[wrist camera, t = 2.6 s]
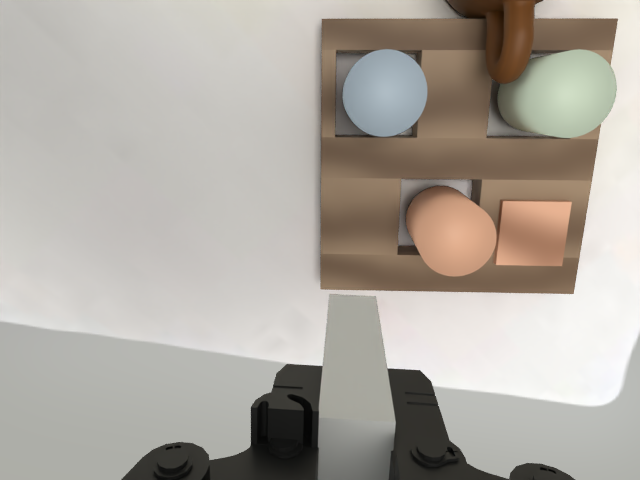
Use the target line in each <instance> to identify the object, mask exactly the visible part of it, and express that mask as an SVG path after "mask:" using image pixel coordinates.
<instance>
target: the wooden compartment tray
mask: <svg viewBox="0 0 640 480" xmlns="http://www.w3.org/2000/svg"><path fill="white" fill-rule="evenodd" d="M617 21H618V19H534V41H533V46H532V51H531V53H560V52H565V51H570V50H578V49H581V50H588V51H592V52H594V53H597V54H598V55H600V56H601V57H603V58H604V59H605V60H606V61H607V62H608V63H609V65H611V58H612V52H613V46H614V40H615V34H616V28H617ZM486 38H487V19H322V96H321V289H329V290H385V291H441V292H497V293H553V294H574V288H575V281H576V275H577V269H578V263H579V257H580V250H581V244H582V238H583V232H584V226H585V219H586V213H587V207H588V201H589V195H590V188H591V182H592V176H593V170H594V164H595V158H596V151H597V145H598V139H599V133H600V127H601V124H600V125H599V126H597V127H596V128H595V129H594V130H592V131H590V132H589V133H586V134H584V135H581V136H578V137H573V138H560V137H554V136H487V126H488V116H489V106H490V96H491V86H492V78H491V76H490V75H489V72H488V70H487V66H486V56H485V55H486ZM383 49H391V50H397V51H400V52H403V53H417V57H416V62H417V64H418V65H419V66H420V68H421V69H422V71H423V73H424V76H425V79H426V82H427V100H426V104H425V107H424V110H423V112H422V114H421V116H420V117H419V118H418V120H417V121H416V122H415V123H414V124H413V128H412V135H394V136H388V137H380V136H374V135H335V106H336V53H371V52H374V51H377V50H383ZM401 179H473V183H472V194H471V201H472V202H474V203H475V204H476V205H478V206H479V207H480V208H482V209H483V210H484V211H485V212H486V213H487V214H488V215H489V216H490V217H491V219H492V221H493V223H494V225H495V229H496V235H497V238H496V246H495V249H494V251H493V253H492V255H491V257H490V258H489V260H488V261H487V262H486V263H485V264H484V265H483V266H482V267H481V268H479V269H478V270H476V271H475V272H473V273H470V274H467V275H464V276H455V277H453V276H446V275H442V274H439V273H437V272H435V271H434V270H432V269H431V268H430V267H429V266H428V265H427V264H426V263H425V262H424V260H423V259H422V257H421V255H420V253H419V251H418V249H417V247H416V246H398V232H399V212H400V193H401Z"/></svg>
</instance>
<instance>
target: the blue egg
mask: <svg viewBox="0 0 640 480" xmlns="http://www.w3.org/2000/svg"><path fill="white" fill-rule="evenodd" d="M342 97H343V104H344V108H345V110H346V112H347V114H348V116H349V117H350V119H351V120H352V122H353V123H354V124H355V125H356V126H357V127H358V128H359V129H361V130H362V131H364V132H366V133H368V134H371V135H374V136H380V137H388V136H394V135H397V134H400V133H402V132H404V131H406V130H407V129H409V128H410V127H411V126H412V125H413V124H414V123H415V122H416V121H417V120H418V118H419V117H420V116H421V114H422V112H423V110H424V107H425V104H426V100H427V82H426V79H425V76H424V73H423V71H422V69H421V68H420V66H419V65H418V64H417V62H416V61H415V60H414V59H412V58H411V57H410V56H408V55H407V54H405V53H403V52H400V51H397V50H391V49H383V50H377V51H374V52H371V53H369V54H367V55H365V56H364V57H362V58H361V59H359V60H358V61H357V62H356V63H355V64H354V66H353V67H352V68H351V70H350V71H349V73H348V75H347V78H346V80H345V83H344V87H343V94H342Z"/></svg>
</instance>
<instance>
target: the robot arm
mask: <svg viewBox="0 0 640 480" xmlns="http://www.w3.org/2000/svg"><path fill="white" fill-rule="evenodd" d="M122 480H575V479H573V478H572V477H571V476H570V475H568V474H566V473H564V472H562V471H560V470H558V469H556V468H554V467H550V466H546V465H543V464H534V463H526V464H523V465H519V466H516V467H515V469H514V470H513V471H512V472H511V473H510V478H509V479H506V478H503V477H499V476H496V475H492V474H489V473H486V472H484V471H481V470H478V469H476V468H474V467H473V466H471V465H469V464H467V462H466V459H465V457H464V455H463V453H462V452H461V451H460V449H459V448H458V447H457V446H456V445H454V444H453V443H452V442H451V441H449V438H448V434H447V431H446V428H445V425H444V422H443V418H442V415H441V412H440V409H439V406H438V402H437V400H436V396H435V393H434V390H433V386H432V383H431V381H430V380H429V379H428V378H427V377H426V376H425V375H424V374H423V373H422V372H421V371H420V370H405V369H388V368H387V364H386V357H385V351H384V345H383V338H382V332H381V325H380V319H379V313H378V306H377V300H376V297H375V296H356V295H337V294H329V305H328V316H327V326H326V337H325V347H324V358H323V366H311V365H294V364H286V365H285V366H284V367H283V368H282V369H281V370H280V371H279V372H278V373H277V374H276V377H275V381H274V385H273V389H272V392H271V393H268V394H264V395H263V396H261V397H260V398H258V399H257V400H255V402H254V404H253V405H252V406H251V446H250V448H248V449H247V450H246V451H244V452H241V453H239V454H237V455H234V456H230V457H226V458H220V459H214V460H209V455H208V454H207V453H206V451H205V450H204V449H203V448H202V447H199V446H197V445H195V444H193V443H183V442H177V443H172V444H165V445H163V446H161V447H158V448H156V449H154V450H152V451H151V452H149V453H148V454H147V455H145V456H144V457H143V458H142V459H141V460H140V461H139V462H138V463H137V464H136V465H135V466H134V467H133V468H132V469H131V470H130V471H129V472H128V473H127V474H126V475H125V476H124V477H123V479H122Z"/></svg>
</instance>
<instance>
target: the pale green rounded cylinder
mask: <svg viewBox="0 0 640 480" xmlns="http://www.w3.org/2000/svg"><path fill="white" fill-rule="evenodd" d="M616 90H617V86H616V78H615V75H614V72H613V70H612V68H611V66H610V65H609V63H608V62H607V61H606V60H605V59H604V58H603V57H601V56H600V55H598V54H597V53H594V52H592V51H588V50H581V49H578V50H570V51H565V52H560V53H556V54H551V55H546V56H541V57H536V58H532V59H529V62H528V64H527V66H526V68H525V70H524V72H523V73H522V74H521V75H520V76H519V78H518V79H516V80H515V81H513V82H511V83H507V84H500V87H499V90H498V107H499V111H500V114H501V115H502V117H503V119H504V120H505V121H506V122H507V123H508V124H509V125H510V126H512V127H513V128H515V129H518V130H521V131H525V132H531V133H537V134H543V135H548V136H554V137H560V138H573V137H578V136H581V135H584V134H586V133H589V132H590V131H592V130H594V129H595V128H596V127H597V126H599V125H600V124H601V123H602V122H603V121H604V119H605V118H606V117H607V116H608V114H609V112H610V111H611V109H612V107H613V104H614V101H615V97H616Z"/></svg>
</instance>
